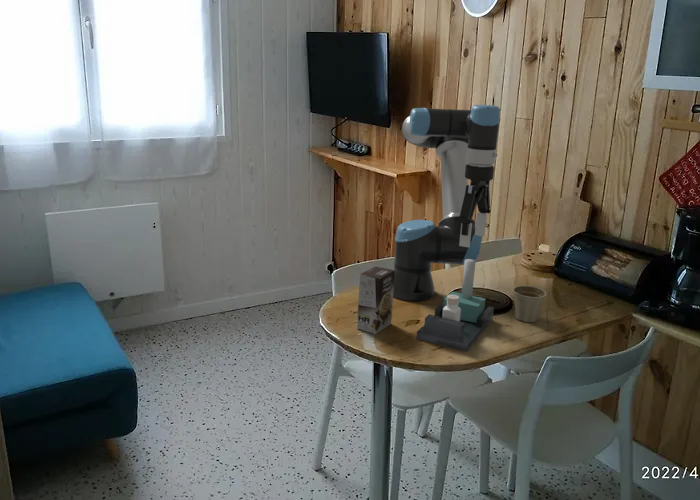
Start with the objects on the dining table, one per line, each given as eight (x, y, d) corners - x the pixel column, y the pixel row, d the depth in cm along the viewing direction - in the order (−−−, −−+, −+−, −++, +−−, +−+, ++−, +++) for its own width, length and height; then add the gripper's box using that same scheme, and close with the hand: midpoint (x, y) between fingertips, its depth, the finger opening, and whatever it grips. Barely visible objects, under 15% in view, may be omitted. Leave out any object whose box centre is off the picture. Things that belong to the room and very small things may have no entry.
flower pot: (525, 327, 173) (528, 299, 171) (502, 315, 181) (506, 288, 179) (549, 322, 178) (553, 294, 175) (526, 310, 186) (530, 283, 183)
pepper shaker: (446, 325, 168) (449, 292, 165) (459, 328, 166) (463, 296, 163) (440, 329, 164) (443, 297, 162) (454, 333, 162) (457, 300, 160)
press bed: (416, 338, 163) (417, 316, 161) (447, 309, 184) (448, 289, 182) (466, 351, 157) (468, 328, 155) (492, 320, 177) (495, 299, 175)
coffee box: (376, 334, 165) (379, 278, 160) (356, 328, 168) (358, 273, 163) (392, 323, 172) (395, 269, 167) (372, 318, 175) (375, 265, 171)
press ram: (442, 315, 174) (447, 261, 169) (450, 307, 179) (455, 255, 175) (476, 323, 169) (482, 268, 164) (483, 314, 175) (489, 262, 170)
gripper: (479, 172, 151) (471, 253, 157) (506, 160, 172) (498, 233, 178) (450, 168, 154) (443, 248, 160) (480, 157, 175) (473, 229, 181)
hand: (472, 240), depth 169 cm, fingers open, 13 cm apart
